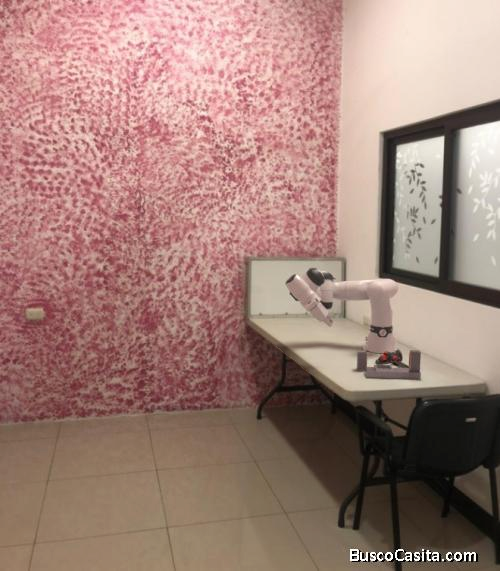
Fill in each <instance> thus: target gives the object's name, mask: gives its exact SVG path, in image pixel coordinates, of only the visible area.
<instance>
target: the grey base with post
mask: <svg viewBox="0 0 500 571" xmlns="http://www.w3.org/2000/svg"><path fill="white" fill-rule="evenodd" d="M421 355H422V352H421V351H420V350H416V349H410V350H409V354H408V366H409V368H403V367H393V365H392V364H385V365H380V364H373V366H367V367H365V371H364V374H365V376H366V378H367V379H368V378H370V379H398V380H401V379H402V380H421V377H422V374H421V357H422V356H421Z"/></svg>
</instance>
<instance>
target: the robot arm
mask: <svg viewBox="0 0 500 571" xmlns="http://www.w3.org/2000/svg"><path fill="white" fill-rule="evenodd" d="M334 280H336V278H335V277H334V276H333V275H332V273H330V272H328V271H325V270H320V269H319V268H318V267H317V268H316V267H310V268H308V269H307V271H306V272H305V273H304V274H303V275H301V276H300V275H298V274H297V273H294V274H292V275H290V277H289V278H288V279H286V282H285V286H286V288H287V289H288V291H289V295H290V296H291V297H292V298H293V299H294V300H295V301H296V302H299V303H300V305H301V306H302V307H303V309H305V310H306V311H307V312H309V313H310V314H311V316H314V318H315V319H316V320H317V321H318V322H320V323H322V322H323V323H324V324H326V325H327V327H328V328H330V327H332V326H333V323H334V320H333V319H332V318H331V317H330V315H329V310H331V309H332V308H333V305H334V302H333V300H339V301H346V302H347V301H348V302H349V301H353V302H354V301H369V304H370V308H371V309H370V310H371V311H370V312H371V321H370V322H371V323H370V326H369V333H368V335H367V336H365V337H364V338H365V340H364V341H365V343H364V345H363V348H362V350H366V352H370V353H374V354H383V353H384V352H386V351H388V352H391V353H396V350H398V348H397V347H396V336H395V335H394V334H393V331H394V326H393V310H392V308H391V301H390V299H392V298H393V297H395V296H396V294H397V293H398V291H399V290H398V289H399V287H398V283H397V282H396V281H395V280H394V279H391V278H378V279H377V278H376V279H375V278H374V279H364V280H363V279H361V280H344V281H334Z"/></svg>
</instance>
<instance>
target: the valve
mask: <svg viewBox="0 0 500 571" xmlns="http://www.w3.org/2000/svg"><path fill="white" fill-rule="evenodd" d="M397 349H398V348H397ZM374 362H375V363H374V364H375V365H391V364H394V365H398V366H399V367H400V368H409V364H408V365H407V364H406V363H404V362H403V353H402V351H401V350H400V349H398V350H396V352H392V353H391V352H388V351H386V352H384V353H382V354H381V355H379V356H378V358H377V359H375V361H374Z"/></svg>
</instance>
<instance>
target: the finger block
mask: <svg viewBox="0 0 500 571" xmlns="http://www.w3.org/2000/svg"><path fill="white" fill-rule="evenodd" d="M367 352H368V351H366V350H363V349H362V350H360V349H359V350H357V351H356V371H358V372H360V371H361V372H365V367H368V353H367Z"/></svg>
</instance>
